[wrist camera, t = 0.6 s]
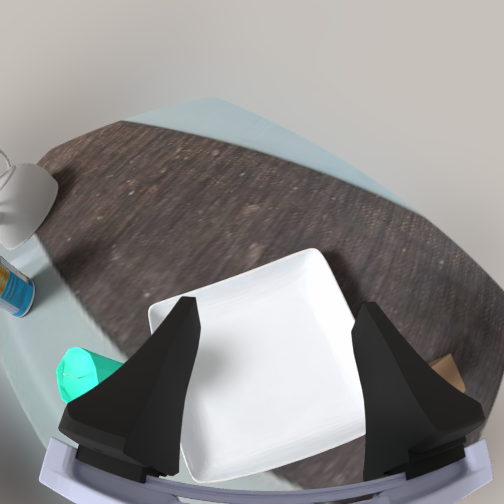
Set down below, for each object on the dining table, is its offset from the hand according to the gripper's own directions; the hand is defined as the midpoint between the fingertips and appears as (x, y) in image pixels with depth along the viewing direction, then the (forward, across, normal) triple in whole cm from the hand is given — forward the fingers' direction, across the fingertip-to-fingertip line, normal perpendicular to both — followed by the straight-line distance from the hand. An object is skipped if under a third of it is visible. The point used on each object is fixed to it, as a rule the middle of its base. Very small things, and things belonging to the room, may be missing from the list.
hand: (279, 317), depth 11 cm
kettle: (+37, +60, +14) cm, 72 cm away
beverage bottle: (+16, +45, +21) cm, 52 cm away
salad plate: (+8, 0, +17) cm, 19 cm away
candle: (+5, +15, +21) cm, 26 cm away
